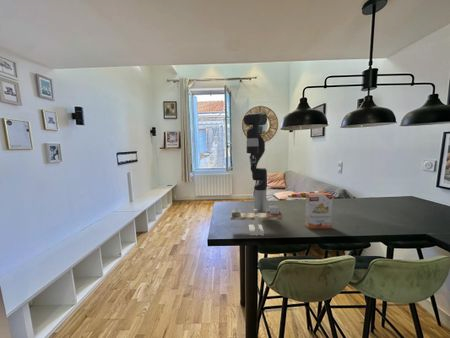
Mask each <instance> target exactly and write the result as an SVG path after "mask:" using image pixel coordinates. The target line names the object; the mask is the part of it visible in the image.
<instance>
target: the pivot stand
mask: <svg viewBox="0 0 450 338" xmlns="http://www.w3.org/2000/svg"><path fill="white" fill-rule="evenodd" d="M252 213H257V209H254V208H253V212H252ZM252 221H253V224H248V233H249V236H250V235H256V236H257V235H261V237H262V235H263V237H264V236H265V231H264V228H263V225H262V224H259V220H258V215H255V220H252ZM256 236H255V237H256ZM257 237H258V236H257Z"/></svg>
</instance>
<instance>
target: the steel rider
mask: <svg viewBox="0 0 450 338" xmlns="http://www.w3.org/2000/svg"><path fill="white" fill-rule="evenodd" d="M268 211H269V215H279V211H280V208H279V206H278V205H268Z"/></svg>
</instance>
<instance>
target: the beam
mask: <svg viewBox="0 0 450 338" xmlns="http://www.w3.org/2000/svg"><path fill="white" fill-rule="evenodd" d="M255 215H258V221H283V214H282V212H281V211H280V210H279V215H269V210H267V211H266V212H265V213H253V212H241V209H237V208H236V209H235V208H234V209H231V213H230V220H231V221H232V220H233V221H238V220H240V221H241V220H242V221H244V220H245V221H253V220H255Z"/></svg>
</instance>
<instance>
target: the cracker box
mask: <svg viewBox="0 0 450 338" xmlns="http://www.w3.org/2000/svg"><path fill="white" fill-rule="evenodd" d="M333 197H334V195H333V194H332V193H330V192H307V193H305V216H304V217H305V219H304V223H305V224H304V226H305V227H306V228H307V229H308V230H310V229H311V230H315V229H318V230H320V229H323V230H324V229H332V221H333V220H332V218H333V203H334V202H333V200H334V199H333Z"/></svg>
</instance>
